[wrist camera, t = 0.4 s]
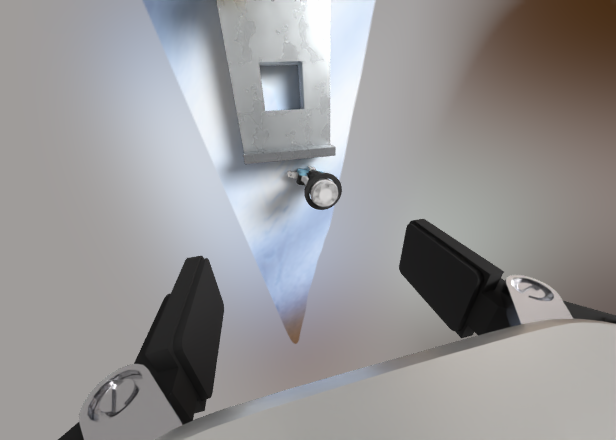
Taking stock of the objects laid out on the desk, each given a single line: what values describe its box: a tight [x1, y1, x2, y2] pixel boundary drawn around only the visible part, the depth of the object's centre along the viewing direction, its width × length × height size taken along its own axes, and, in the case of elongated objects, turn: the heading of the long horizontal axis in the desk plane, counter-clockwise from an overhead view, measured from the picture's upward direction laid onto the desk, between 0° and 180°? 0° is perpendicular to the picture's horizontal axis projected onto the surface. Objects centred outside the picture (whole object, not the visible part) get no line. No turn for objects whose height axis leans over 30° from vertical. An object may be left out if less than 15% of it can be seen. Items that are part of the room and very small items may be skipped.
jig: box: [216, 0, 335, 164], centre depth 29 cm, size 18×13×6 cm
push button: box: [287, 166, 342, 210], centre depth 34 cm, size 7×5×10 cm
